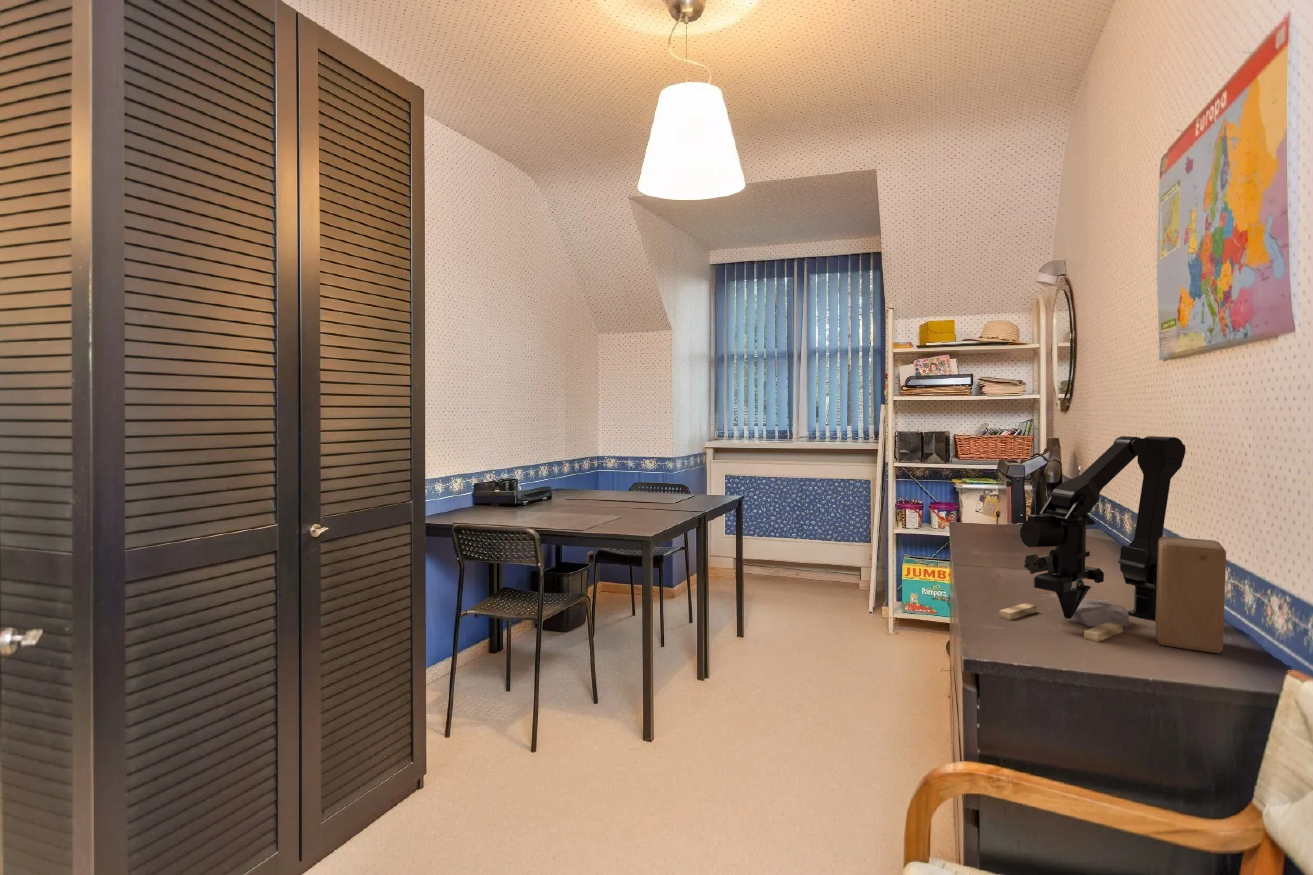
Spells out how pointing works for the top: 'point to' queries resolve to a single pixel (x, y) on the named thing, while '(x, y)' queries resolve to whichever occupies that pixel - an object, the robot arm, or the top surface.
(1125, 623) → the stone block
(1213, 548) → the wooden block
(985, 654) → the top surface
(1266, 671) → the top surface
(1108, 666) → the top surface
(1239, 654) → the top surface
